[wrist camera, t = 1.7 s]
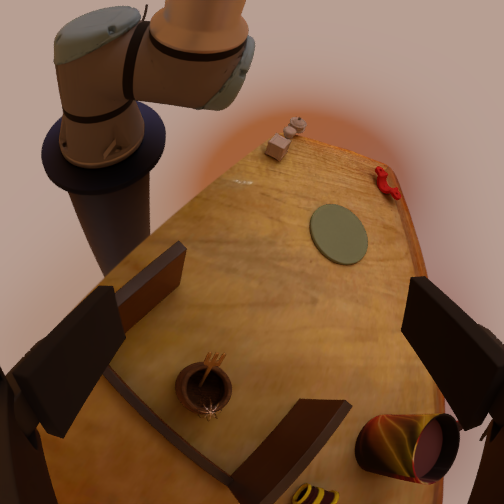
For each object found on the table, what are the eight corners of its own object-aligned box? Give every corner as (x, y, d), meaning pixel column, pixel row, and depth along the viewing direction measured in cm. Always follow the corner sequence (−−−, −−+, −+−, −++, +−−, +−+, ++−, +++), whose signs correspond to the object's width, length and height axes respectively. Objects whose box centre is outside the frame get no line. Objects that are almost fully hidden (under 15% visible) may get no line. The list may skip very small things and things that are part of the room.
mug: (424, 424, 39) (479, 422, 28) (372, 483, 33) (427, 497, 22) (402, 385, 41) (459, 376, 30) (344, 444, 35) (401, 454, 24)
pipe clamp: (396, 199, 54) (390, 205, 56) (403, 196, 56) (397, 202, 58) (374, 167, 56) (368, 173, 58) (381, 165, 58) (375, 171, 60)
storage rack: (231, 486, 29) (257, 519, 19) (88, 354, 31) (59, 341, 22) (306, 403, 36) (352, 406, 27) (173, 277, 39) (178, 240, 29)
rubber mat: (307, 199, 50) (309, 197, 50) (361, 212, 53) (363, 211, 52) (311, 260, 46) (313, 258, 45) (369, 269, 48) (371, 267, 48)
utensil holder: (173, 409, 32) (178, 422, 21) (176, 358, 34) (182, 348, 24) (222, 412, 33) (249, 425, 23) (224, 363, 36) (251, 354, 25)
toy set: (267, 139, 49) (263, 154, 52) (285, 148, 49) (280, 163, 52) (295, 110, 55) (290, 124, 58) (311, 118, 54) (305, 132, 58)
